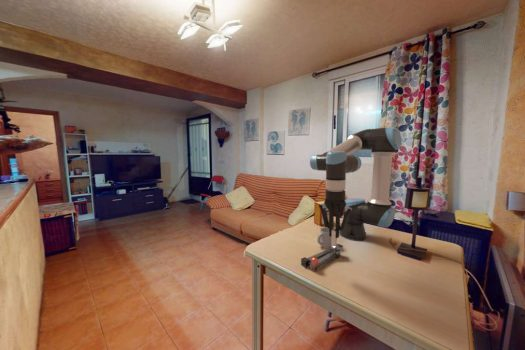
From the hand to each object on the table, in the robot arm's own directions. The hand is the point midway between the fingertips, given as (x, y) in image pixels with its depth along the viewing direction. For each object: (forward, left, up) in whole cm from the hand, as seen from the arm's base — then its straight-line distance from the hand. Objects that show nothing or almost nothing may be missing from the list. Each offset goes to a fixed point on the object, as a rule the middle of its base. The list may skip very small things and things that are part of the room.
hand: (334, 244), depth 83 cm
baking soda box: (-31, -51, -14) cm, 62 cm away
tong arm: (-3, -8, -13) cm, 16 cm away
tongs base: (-2, -10, -13) cm, 17 cm away
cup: (-12, -22, -14) cm, 29 cm away
